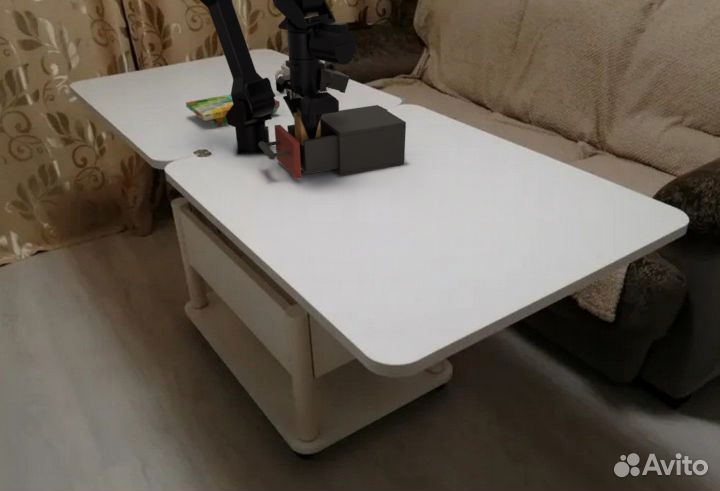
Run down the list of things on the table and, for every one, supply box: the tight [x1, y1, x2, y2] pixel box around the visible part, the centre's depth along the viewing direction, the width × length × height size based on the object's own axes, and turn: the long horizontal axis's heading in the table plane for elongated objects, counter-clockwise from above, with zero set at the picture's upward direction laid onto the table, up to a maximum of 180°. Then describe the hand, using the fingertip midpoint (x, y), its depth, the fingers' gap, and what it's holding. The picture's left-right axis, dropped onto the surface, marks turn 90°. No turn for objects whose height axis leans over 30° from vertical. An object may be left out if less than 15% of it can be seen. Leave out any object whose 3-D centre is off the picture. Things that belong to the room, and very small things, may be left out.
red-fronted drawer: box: [258, 122, 339, 180], centre depth 119 cm, size 18×11×7 cm, turn 115°
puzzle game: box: [185, 93, 281, 127], centre depth 149 cm, size 12×5×20 cm
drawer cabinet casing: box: [320, 104, 407, 177], centre depth 124 cm, size 15×13×9 cm
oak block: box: [293, 112, 321, 146], centre depth 117 cm, size 4×4×6 cm
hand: (307, 136), depth 118 cm, fingers closed on oak block, 4 cm apart
